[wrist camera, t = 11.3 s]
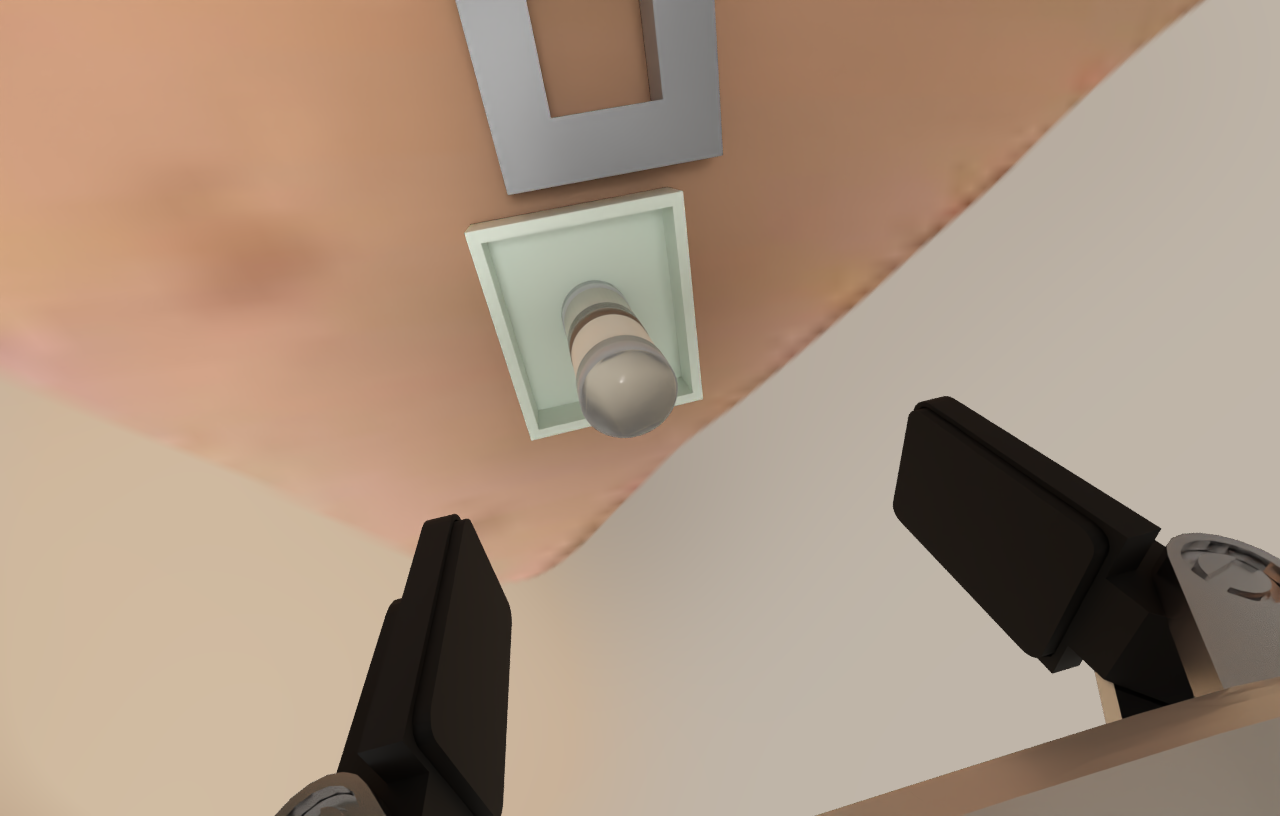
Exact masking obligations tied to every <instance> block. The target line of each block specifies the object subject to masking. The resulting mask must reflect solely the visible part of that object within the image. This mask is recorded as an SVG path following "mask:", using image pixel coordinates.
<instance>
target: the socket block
mask: <svg viewBox="0 0 1280 816" xmlns="http://www.w3.org/2000/svg"><path fill="white" fill-rule="evenodd" d="M455 1H456V4H457V8H458V12H459V15H460V19H461V23H462V27H463V30H464V34H465V38H466V41H467V45H468V49H469V53H470V56H471V60H472V64H473V67H474V71H475V75H476V79H477V82H478V86H479V90H480V93H481V97H482V101H483V105H484V108H485V112H486V116H487V120H488V123H489V127H490V131H491V134H492V138H493V142H494V146H495V149H496V153H497V157H498V160H499V164H500V168H501V172H502V175H503V179H504V183H505V186H506V190H507V194H508V195H511V194H517V193H522V192H528V191H533V190H538V189H544V188H549V187H555V186H560V185H565V184H571V183H576V182H582V181H587V180H593V179H598V178H603V177H609V176H614V175H620V174H625V173H630V172H636V171H641V170H647V169H652V168H657V167H663V166H668V165H674V164H679V163H684V162H690V161H695V160H701V159H706V158H711V157H717V156H722V155H723V146H722V128H721V110H720V92H719V74H718V55H717V37H716V19H715V1H714V0H639V3H640V12H641V20H642V29H643V37H644V46H645V54H646V63H647V71H648V80H649V89H650V97H651V101H650V102H644V103H638V104H632V105H626V106H620V107H614V108H608V109H602V110H596V111H591V112H585V113H579V114H573V115H567V116H561V117H555V118H551V116H550V111H549V107H548V102H547V97H546V92H545V88H544V83H543V78H542V73H541V69H540V64H539V59H538V54H537V50H536V45H535V40H534V35H533V31H532V26H531V21H530V16H529V12H528V7H527V2H526V0H455Z"/></svg>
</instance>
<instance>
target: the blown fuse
mask: <svg viewBox="0 0 1280 816" xmlns="http://www.w3.org/2000/svg"><path fill="white" fill-rule="evenodd" d="M561 317H562V322H563V327H564V331H565V334H566V336H567V340H568V347H569V352H570V356H571V361H572V365H573V368H574V372H575V377H576V388H577V393H578V398H579V403H580V407H581V410H582V413H583V415H584V417H585V418H586V420H587V421H588V422H589V424H590V425H591V426H592V427H594V428H595V429H596V430H598V431H599V432H601V433H603V434H606V435H608V436H612V437H618V438H631V437H636V436H640V435H643V434H645V433H648V432H650V431H652V430H653V429H655V428H656V427H658V426H659V425H660V424H661V423H662V422H664V420H665V419H666V418H667V417H668V416H669V414H670V413H671V411H672V409H673V407H674V405H675V402H676V399H677V393H678V384H677V379H676V376H675V373H674V371H673V369H672V367H671V366H670V364H669V363H668V361H667V360H666V358H665V357H664V355H663V354H662V353H661V351H660V350H659V349H658V348H657V347H656V346H655V344H654V343H653V341H652V340H651V338H650V337H649V335H648V333H647V332H646V330H645V328H644V327H643V325H642V324H641V322H640V321H639V319H638V318H637V317H636V315H635V314H634V313H633V311H632V310H631V308H630V305H629V304H628V302H627V300H626V299H625V297H624V296H623V294H622V293H621V292H620V291H619V290H618V289H617V288H616V287H615V286H613V285H612V284H610V283H607V282H605V281H600V280H591V281H586V282H583V283H581V284H579V285H577V286H575V287H574V288H573V289H572V290H571V291H570V292H569V293H568V294H567V296H566V298H565V299H564V302H563V305H562V311H561Z"/></svg>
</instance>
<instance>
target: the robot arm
mask: <svg viewBox="0 0 1280 816" xmlns="http://www.w3.org/2000/svg"><path fill="white" fill-rule="evenodd" d="M893 509H894V512H895V514H896V516H897V518H898V519H899V520H900V521H901V523H902V524H903V525H904V526H905V527H906V528H907V529H908V530H909V531H910V532H911V533H912V534H913V535H914V536H915V537H916V539H918V541H919V542H920V543H921V544H922V545H923V546H924V547H925V548H926V549H927V550H928V551H929V552H930V553H931V554H932V555H933V556H934V557H935V559H936V560H937V561H938V562H939V563H940V564H941V565H942V566H943V567H944V568H945V569H946V570H947V571H948V572H949V573H950V574H951V575H952V576H953V578H954V579H955V580H956V581H958V583H959V584H960V585H961V586H962V587H963V588H964V589H965V590H966V591H967V592H968V593H969V594H970V595H971V596H972V597H973V599H974V600H975V601H976V602H977V603H978V604H979V605H980V606H981V607H982V608H983V609H984V610H985V611H986V612H987V613H988V614H989V616H991V618H992V619H993V620H994V621H995V622H996V623H997V624H998V625H999V626H1000V627H1001V628H1002V629H1003V630H1004V631H1005V632H1006V633H1007V635H1008V636H1010V638H1011V639H1012V640H1013V641H1014V642H1015V643H1016V644H1017V645H1018V646H1019V647H1020V648H1021V649H1022V650H1023V651H1024V652H1025V653H1026V654H1028V655H1030V656H1031V657H1035V658H1038V659H1039V660H1040V661H1041V662H1042V663H1043V664H1044V665H1045V667H1046V668H1048V670H1049V671H1050V672H1051V673H1056V672H1059V671H1062V670H1066V669H1069V668H1072V667H1076V666H1078V665H1080V663H1081V662H1082V660H1084V661H1085V662H1086V663H1087V664H1088V665H1089V666H1090V667H1091V668H1092V669H1093V670H1094V671H1095V676H1096V680H1097V685H1098V689H1099V694H1100V699H1101V703H1102V707H1103V712H1104V717H1105V721H1106V724H1105V725H1101V726H1098V727H1095V728H1092V729H1089V730H1085V731H1082V732H1079V733H1076V734H1072V735H1069V736H1066V737H1063V738H1060V739H1056V740H1053V741H1050V742H1047V743H1044V744H1040V745H1037V746H1034V747H1031V748H1028V749H1024V750H1021V751H1018V752H1015V753H1011V754H1008V755H1005V756H1002V757H999V758H995V759H992V760H990V761H986V762H983V763H980V764H977V765H973V766H970V767H967V768H964V769H961V770H958V771H954V772H951V773H948V774H945V775H942V776H939V777H936V778H932V779H929V780H926V781H923V782H920V783H916V784H913V785H910V786H907V787H904V788H901V789H898V790H895V791H891V792H888V793H885V794H882V795H879V796H876V797H873V798H869V799H866V800H863V801H860V802H857V803H854V804H850V805H847V806H844V807H841V808H838V809H835V810H832V811H829V812H825V813H822V814H819V815H816V816H1280V559H1279V558H1277V557H1275V556H1273V555H1271V554H1269V553H1267V552H1265V551H1264V550H1262V549H1259V548H1257V547H1254V546H1252V545H1249V544H1246V543H1244V542H1241V541H1238V540H1234V539H1231V538H1227V537H1223V536H1219V535H1213V534H1203V533H1189V534H1181V535H1178V536H1176V537H1173V538H1172V539H1171V540H1170V541H1169V543H1168V544H1167V546H1166V547H1165V546H1163V545H1162V544H1160V543H1159V542H1157V541H1155V538H1156V537H1157V535H1158V533H1159V532H1160V530H1161V528H1160V527H1158V526H1156V525H1155V524H1153V523H1152V522H1150V521H1148V520H1147V519H1145V518H1144V517H1142V516H1140V515H1139V514H1137V513H1136V512H1134V511H1132V510H1131V509H1129V508H1128V507H1126V506H1124V505H1123V504H1121V503H1120V502H1118V501H1117V500H1115V499H1113V498H1112V497H1110V496H1109V495H1107V494H1105V493H1104V492H1102V491H1101V490H1099V489H1097V488H1096V487H1094V486H1092V485H1091V484H1089V483H1088V482H1086V481H1084V480H1083V479H1081V478H1080V477H1078V476H1077V475H1075V474H1073V473H1072V472H1070V471H1069V470H1067V469H1065V468H1064V467H1062V466H1061V465H1059V464H1057V463H1056V462H1054V461H1053V460H1051V459H1049V458H1048V457H1046V456H1045V455H1043V454H1041V453H1040V452H1038V451H1037V450H1035V449H1034V448H1032V447H1030V446H1029V445H1027V444H1026V443H1024V442H1022V441H1021V440H1019V439H1018V438H1016V437H1014V436H1013V435H1011V434H1010V433H1008V432H1006V431H1005V430H1003V429H1002V428H1000V427H998V426H997V425H995V424H994V423H992V422H990V421H989V420H987V419H986V418H984V417H982V416H981V415H979V414H978V413H976V412H975V411H973V410H971V409H970V408H968V407H967V406H965V405H963V404H962V403H960V402H958V401H957V400H955V399H954V398H951V397H948V396H944V397H939V398H935V399H931V400H927V401H923V402H920V403H918V404H917V405H916V406H915V408H914V411H912V412H911V413H910V414H909V417H908V422H907V428H906V433H905V439H904V445H903V450H902V456H901V461H900V467H899V472H898V479H897V484H896V490H895V495H894V501H893ZM511 627H512V617H511V610H510V606H509V603H508V601H507V599H506V596H505V594H504V592H503V590H502V588H501V585H500V583H499V581H498V579H497V577H496V575H495V572H494V570H493V568H492V566H491V564H490V562H489V559H488V557H487V555H486V553H485V551H484V549H483V546H482V544H481V542H480V540H479V538H478V536H477V533H476V531H475V529H474V527H473V525H472V523H471V521H470V520H469V519H463V520H461V519H460V517H459V516H458V515H457V514H452V515H448V516H444V517H440V518H436V519H432V520H427V521H426V522H425V523H424V525H423V527H422V530H421V534H420V537H419V541H418V544H417V548H416V551H415V555H414V558H413V561H412V565H411V568H410V572H409V575H408V579H407V582H406V586H405V590H404V593H403V596H402V598H401V599H397V600H394V601H393V603H392V604H391V605H390V606H389V608H388V611H387V613H386V616H385V619H384V622H383V626H382V629H381V632H380V635H379V638H378V642H377V645H376V648H375V651H374V655H373V658H372V661H371V664H370V667H369V670H368V674H367V677H366V680H365V683H364V686H363V690H362V693H361V696H360V699H359V703H358V706H357V709H356V712H355V716H354V719H353V722H352V725H351V728H350V731H349V735H348V738H347V741H346V744H345V747H344V751H343V754H342V757H341V761H340V763H339V767H338V770H337V773H336V774H330V775H326V776H324V777H322V778H320V779H318V780H316V781H315V782H312V783H310V784H309V785H307V786H306V787H305V788H303V789H302V790H301V791H300V792H298V793H297V794H296V795H295V796H293V797H292V798H291V799H290V800H289V801H288V802H287V803H286V804H285V805H284V806H283V807H282V808H281V810H280V811H279V812H278V813H277V814H276V815H275V816H501V813H502V807H503V793H504V773H505V752H506V730H507V710H508V690H509V689H508V687H509V669H510V648H511Z"/></svg>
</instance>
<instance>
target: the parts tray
mask: <svg viewBox="0 0 1280 816" xmlns="http://www.w3.org/2000/svg"><path fill="white" fill-rule="evenodd" d="M464 234H465V237H466V240H467V243H468V246H469V249H470V253H471V256H472V259H473V262H474V265H475V268H476V271H477V274H478V277H479V280H480V283H481V287H482V290H483V293H484V296H485V299H486V302H487V305H488V308H489V311H490V314H491V317H492V320H493V324H494V327H495V330H496V333H497V336H498V339H499V342H500V345H501V348H502V351H503V354H504V357H505V361H506V364H507V367H508V370H509V373H510V376H511V379H512V382H513V385H514V388H515V391H516V395H517V398H518V401H519V404H520V407H521V410H522V413H523V416H524V419H525V422H526V425H527V428H528V432H529V435H530V438H531V441H532V440H536V439H541V438H545V437H549V436H553V435H557V434H561V433H565V432H569V431H574V430H578V429H582V428H586V427H590V426H591V425H590V424H589V422H588V421H587V420H586V418H585V417H584V415H583V413H582V410H581V407H580V403H579V398H578V393H577V388H576V377H575V372H574V368H573V365H572V361H571V356H570V352H569V347H568V340H567V336H566V334H565V331H564V327H563V322H562V317H561V311H562V305H563V302H564V299H565V298H566V296H567V294H568V293H569V292H570V291H571V290H572V289H573V288H574V287H575V286H577V285H579V284H581V283H583V282H586V281H591V280H600V281H605V282H607V283H610V284H612V285H613V286H615V287H616V288H617V289H618V290H619V291H620V292H621V293H622V294H623V296H624V297H625V299H626V300H627V302H628V304H629V305H630V308H631V310H632V311H633V313H634V314H635V315H636V317H637V318H638V319H639V321H640V322H641V324H642V325H643V327H644V328H645V330H646V332H647V333H648V335H649V337H650V338H651V340H652V341H653V343H654V344H655V346H656V347H657V348H658V349H659V350H660V351H661V353H662V354H663V355H664V357H665V358H666V360H667V361H668V363H669V364H670V366H671V367H672V369H673V371H674V373H675V376H676V379H677V384H678V393H677V399H676V402H675V405H674V406H677V405H681V404H685V403H689V402H694V401H698V400H702V399H703V394H702V384H701V373H700V363H699V352H698V342H697V332H696V321H695V311H694V300H693V290H692V280H691V269H690V259H689V248H688V238H687V228H686V217H685V207H684V196H683V191H681V190H677V189H673V188H669V187H665V188H660V189H654V190H649V191H644V192H639V193H633V194H628V195H623V196H618V197H612V198H607V199H602V200H597V201H591V202H586V203H581V204H575V205H570V206H565V207H560V208H554V209H549V210H544V211H539V212H533V213H528V214H523V215H518V216H512V217H507V218H502V219H496V220H491V221H486V222H481V223H475V224H471V225H470V226H469V227H468V229H467V230H466V231H465V232H464Z"/></svg>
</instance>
